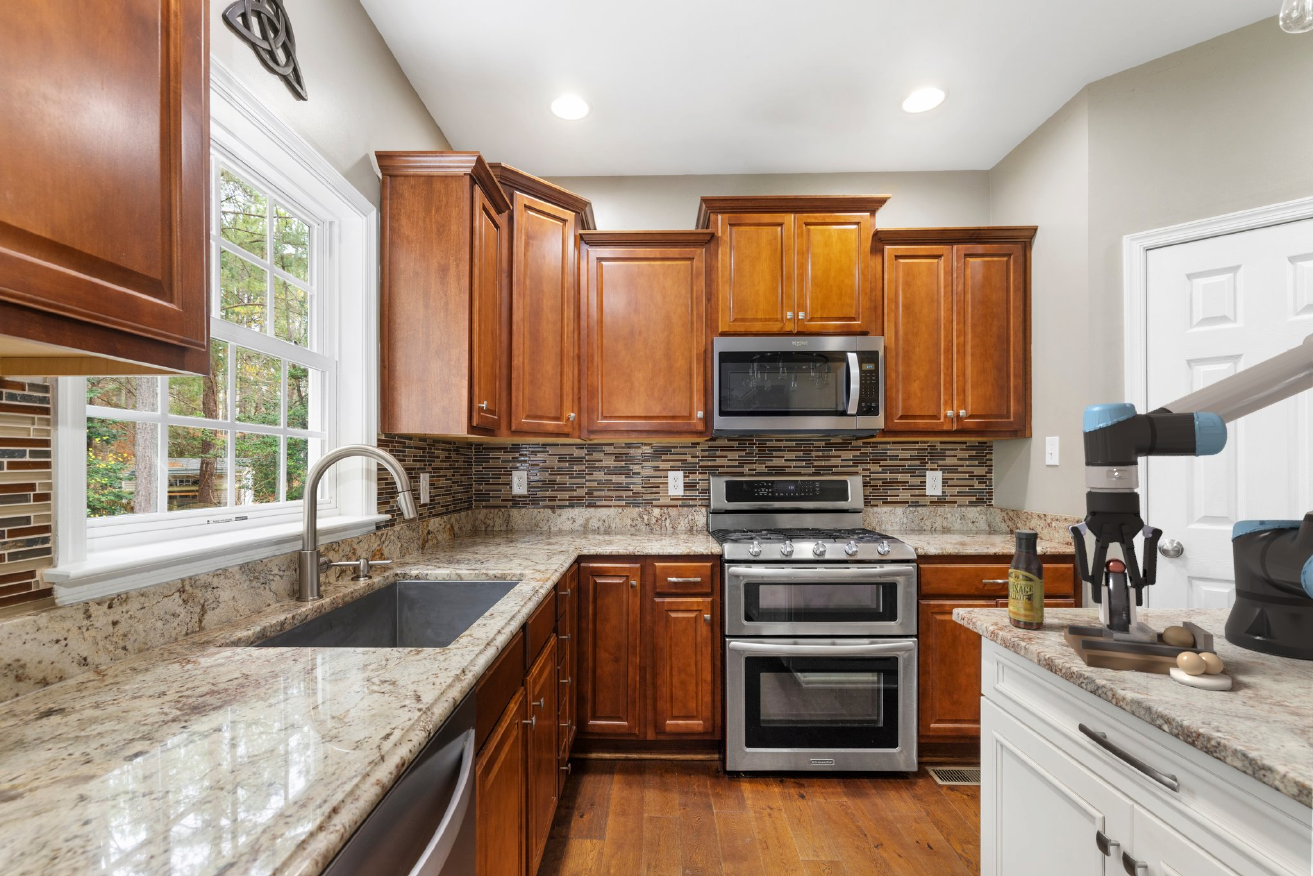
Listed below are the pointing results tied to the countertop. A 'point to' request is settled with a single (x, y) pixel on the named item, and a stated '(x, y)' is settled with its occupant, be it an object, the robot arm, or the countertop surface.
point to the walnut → (1178, 637)
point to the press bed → (1134, 649)
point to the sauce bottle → (1026, 583)
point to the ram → (1122, 608)
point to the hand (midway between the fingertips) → (1117, 622)
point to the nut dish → (1202, 680)
